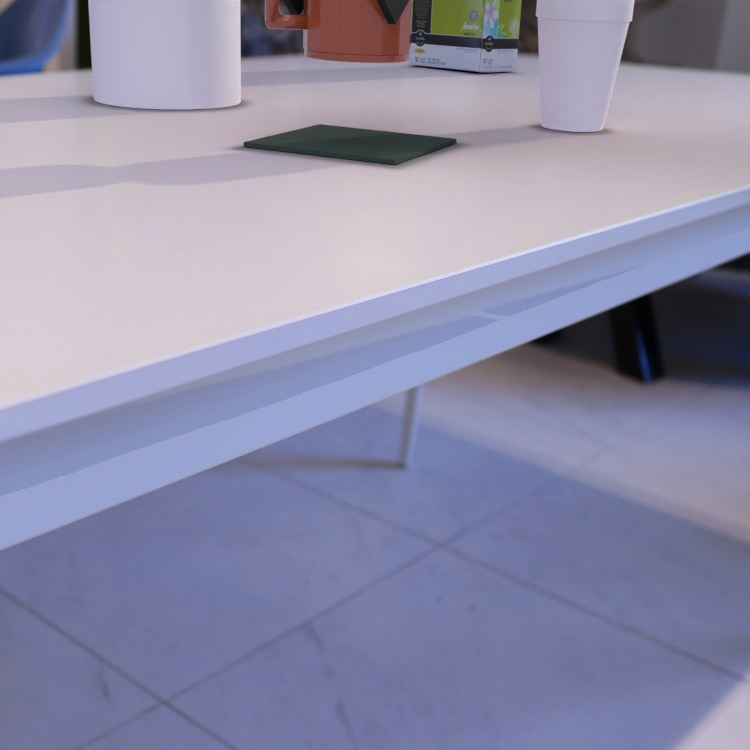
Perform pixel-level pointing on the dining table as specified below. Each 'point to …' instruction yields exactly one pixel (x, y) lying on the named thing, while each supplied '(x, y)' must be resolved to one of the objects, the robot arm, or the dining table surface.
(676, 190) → the dining table surface
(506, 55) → the tea box
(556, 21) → the foam cup
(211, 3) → the canister
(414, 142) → the mat
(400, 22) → the faceted clay mug
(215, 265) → the dining table surface
